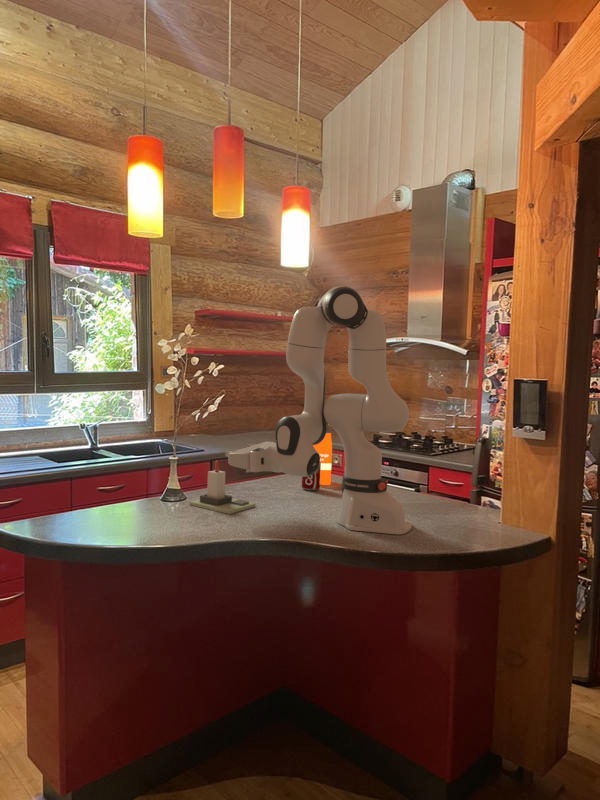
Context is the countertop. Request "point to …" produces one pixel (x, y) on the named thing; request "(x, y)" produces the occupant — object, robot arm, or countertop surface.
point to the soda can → (312, 480)
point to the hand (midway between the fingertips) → (236, 450)
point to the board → (222, 504)
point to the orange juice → (325, 459)
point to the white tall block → (216, 483)
